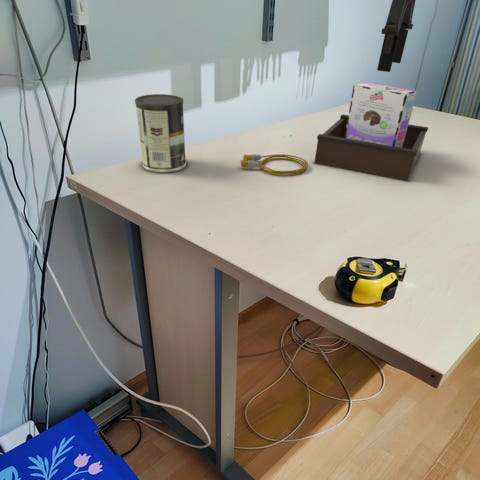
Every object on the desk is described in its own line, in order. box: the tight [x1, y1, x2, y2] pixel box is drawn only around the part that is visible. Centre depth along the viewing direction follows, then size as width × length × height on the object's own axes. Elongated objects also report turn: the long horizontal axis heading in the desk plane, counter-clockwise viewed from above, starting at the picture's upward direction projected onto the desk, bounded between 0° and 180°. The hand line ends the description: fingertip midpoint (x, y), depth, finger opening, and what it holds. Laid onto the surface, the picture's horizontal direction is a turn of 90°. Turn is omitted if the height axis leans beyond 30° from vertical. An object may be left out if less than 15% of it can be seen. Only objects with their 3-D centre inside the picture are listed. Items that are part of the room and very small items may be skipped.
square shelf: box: [314, 113, 429, 182], centre depth 106 cm, size 23×23×7 cm
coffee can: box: [134, 93, 187, 173], centre depth 95 cm, size 10×10×14 cm
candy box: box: [345, 81, 418, 148], centre depth 103 cm, size 14×6×16 cm, turn 46°
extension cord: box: [240, 153, 309, 177], centre depth 101 cm, size 12×16×2 cm
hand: (389, 66), depth 96 cm, fingers open, 13 cm apart
